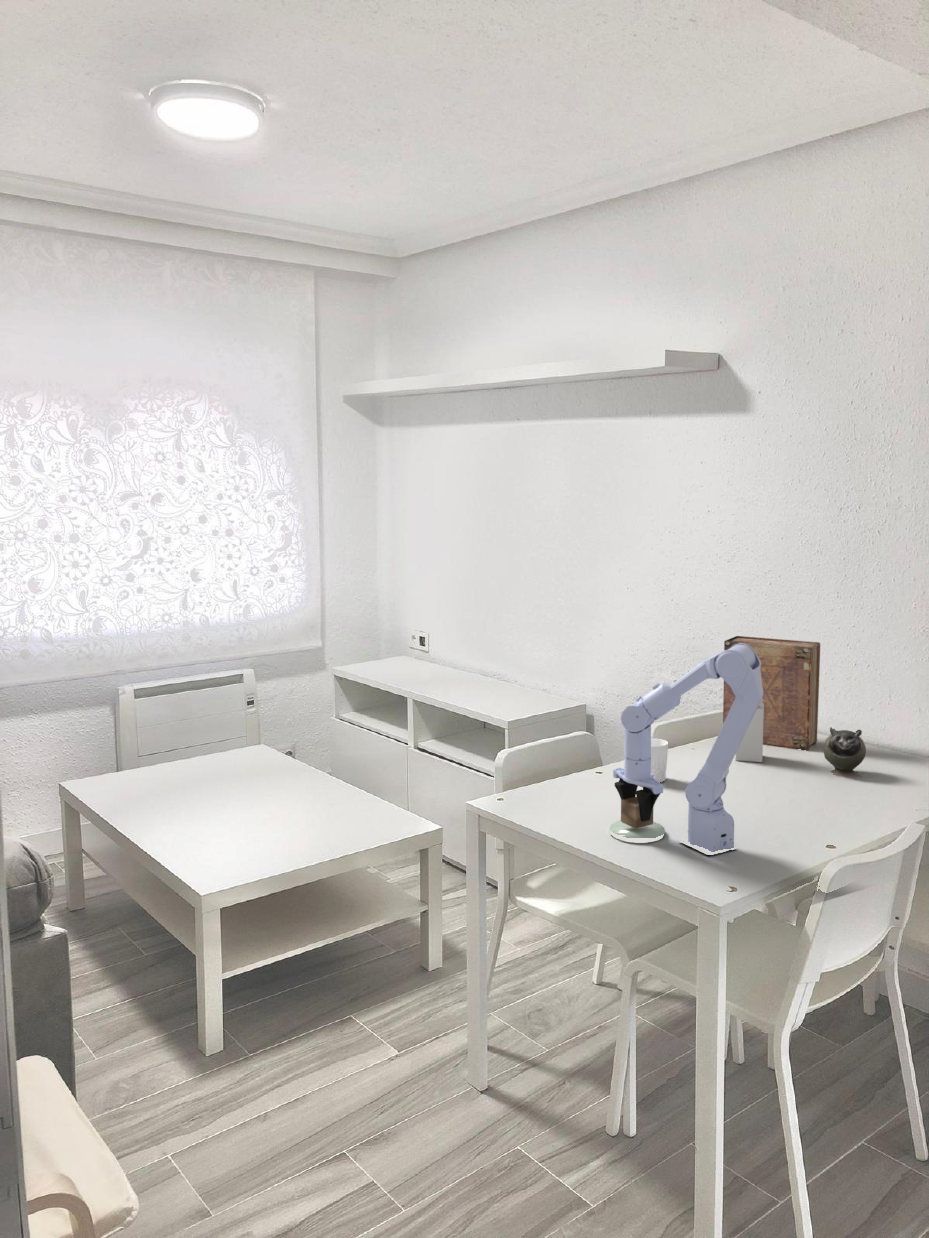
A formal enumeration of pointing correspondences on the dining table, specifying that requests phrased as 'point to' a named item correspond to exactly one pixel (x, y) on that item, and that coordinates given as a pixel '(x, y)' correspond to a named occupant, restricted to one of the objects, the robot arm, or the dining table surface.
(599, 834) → the dining table surface
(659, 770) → the white cup
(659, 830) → the pale green domed disc
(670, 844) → the dining table surface
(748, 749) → the milk carton
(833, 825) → the dining table surface
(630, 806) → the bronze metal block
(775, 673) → the book
